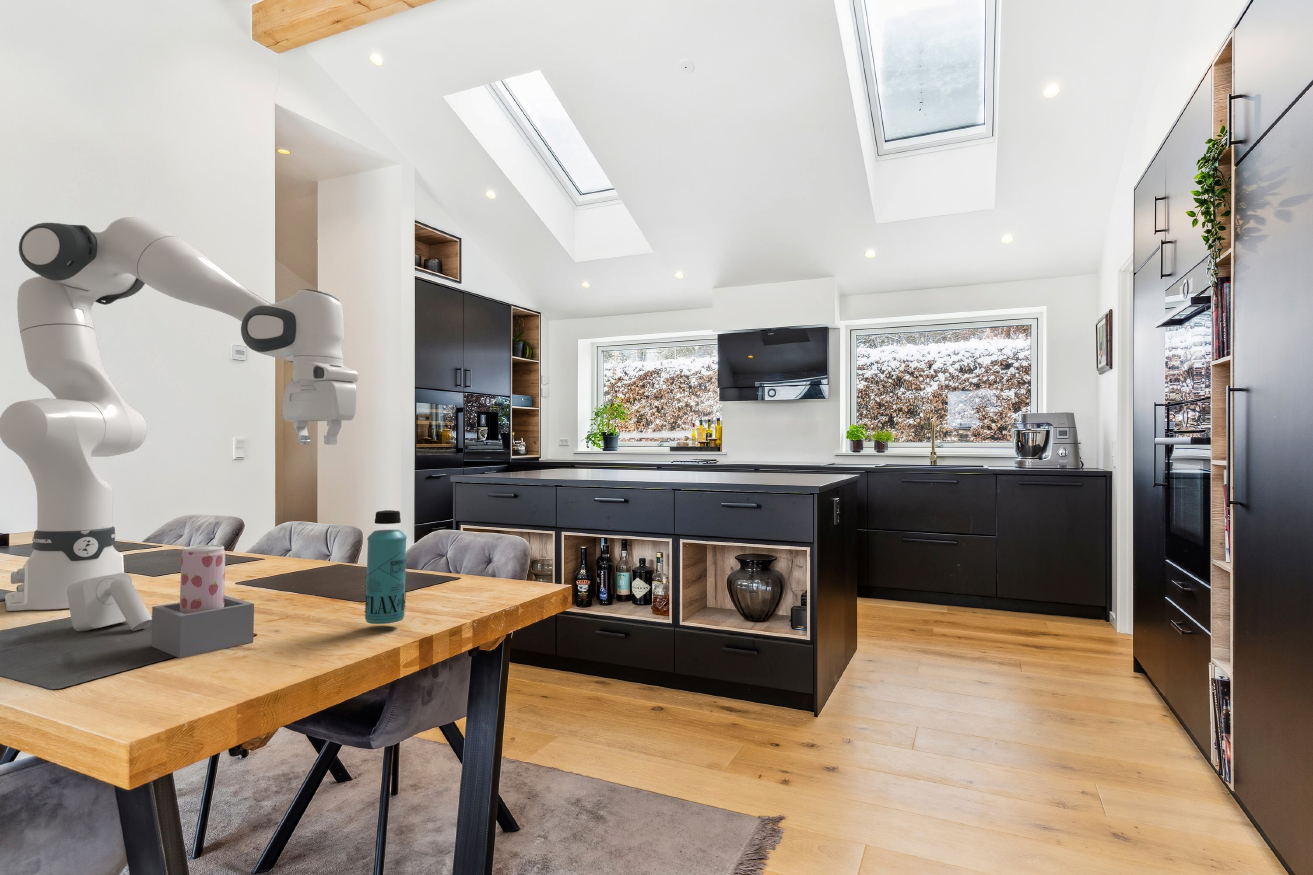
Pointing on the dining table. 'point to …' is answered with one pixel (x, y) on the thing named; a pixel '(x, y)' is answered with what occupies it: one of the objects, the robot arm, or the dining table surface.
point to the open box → (202, 628)
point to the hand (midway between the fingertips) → (316, 444)
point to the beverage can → (202, 578)
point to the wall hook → (106, 603)
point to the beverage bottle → (386, 572)
